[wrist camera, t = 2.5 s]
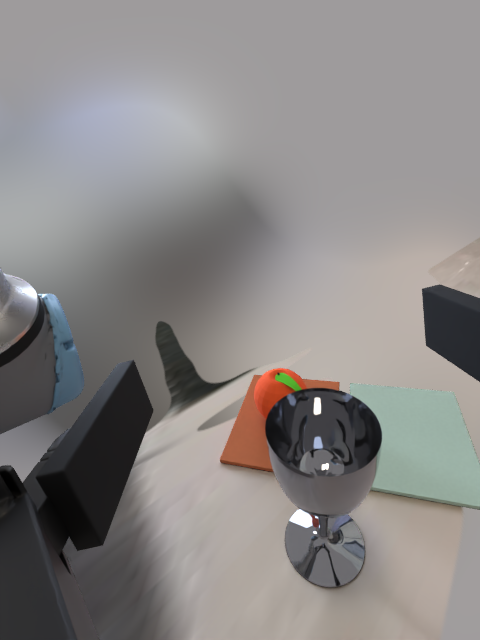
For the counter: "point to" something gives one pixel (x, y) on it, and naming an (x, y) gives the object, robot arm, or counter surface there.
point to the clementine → (275, 388)
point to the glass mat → (423, 445)
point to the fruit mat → (255, 431)
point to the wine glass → (324, 478)
